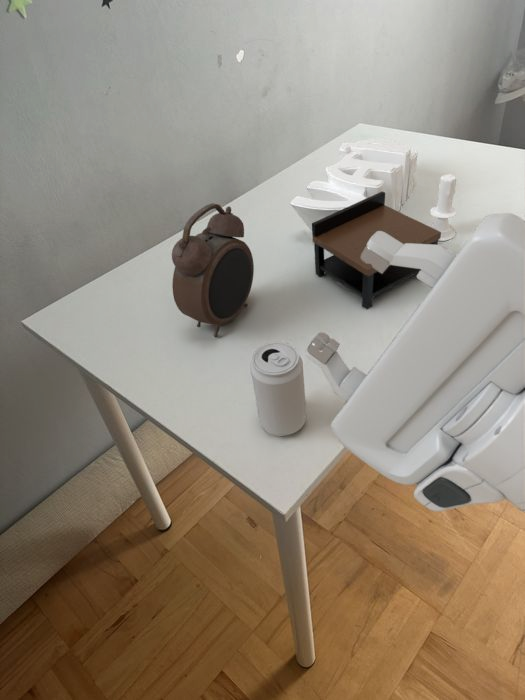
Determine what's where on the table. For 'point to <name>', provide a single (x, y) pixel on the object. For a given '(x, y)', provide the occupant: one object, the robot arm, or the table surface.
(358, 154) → the wavy white extrusion
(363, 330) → the table surface
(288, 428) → the beverage can
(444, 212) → the candle
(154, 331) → the table surface
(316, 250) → the miniature side table
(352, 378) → the robot arm
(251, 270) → the alarm clock
